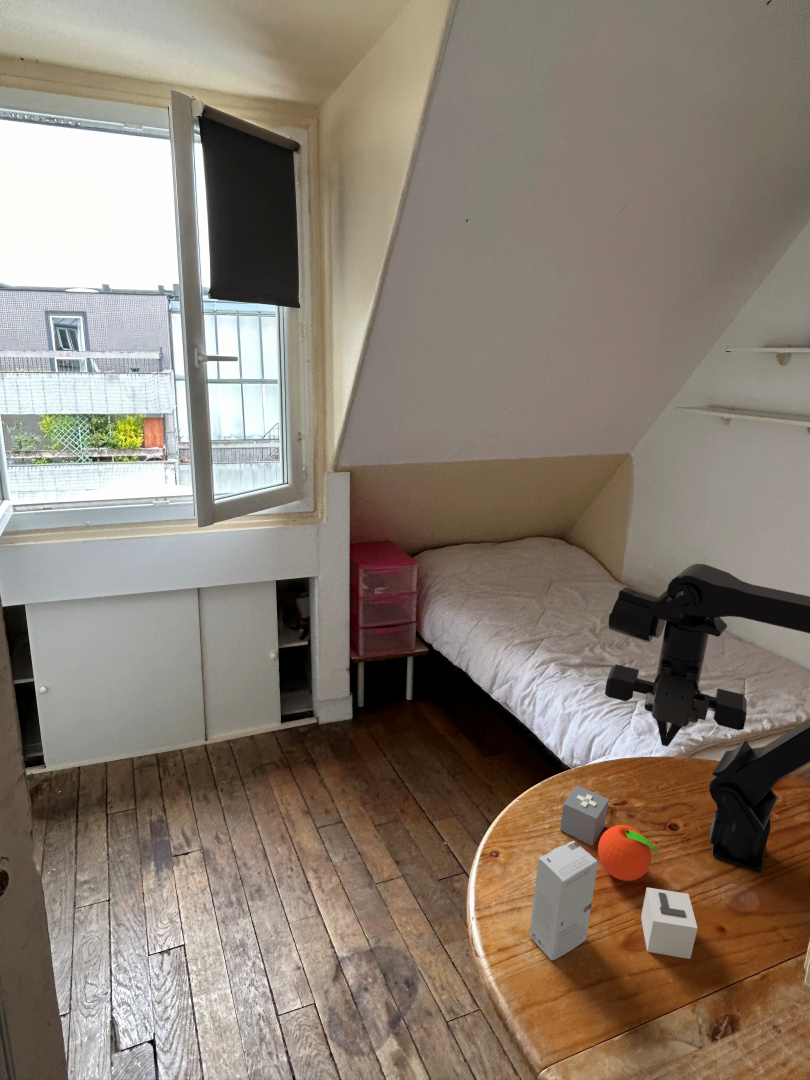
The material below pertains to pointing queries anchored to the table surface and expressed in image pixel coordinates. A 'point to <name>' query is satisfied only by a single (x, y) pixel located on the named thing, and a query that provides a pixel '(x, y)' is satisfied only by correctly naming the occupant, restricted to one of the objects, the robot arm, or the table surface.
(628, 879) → the clementine
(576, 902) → the skincare box
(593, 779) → the table surface
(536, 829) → the table surface
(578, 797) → the slate block
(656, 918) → the pale grey block
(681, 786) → the table surface
